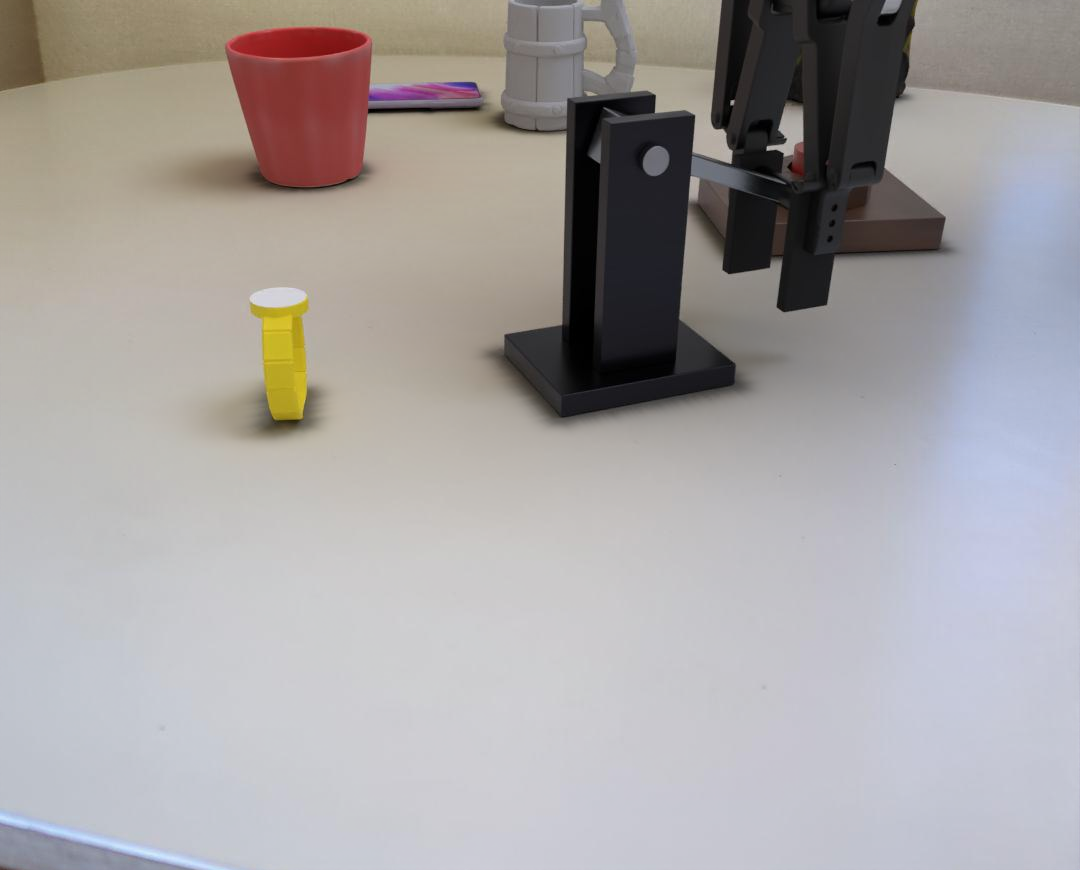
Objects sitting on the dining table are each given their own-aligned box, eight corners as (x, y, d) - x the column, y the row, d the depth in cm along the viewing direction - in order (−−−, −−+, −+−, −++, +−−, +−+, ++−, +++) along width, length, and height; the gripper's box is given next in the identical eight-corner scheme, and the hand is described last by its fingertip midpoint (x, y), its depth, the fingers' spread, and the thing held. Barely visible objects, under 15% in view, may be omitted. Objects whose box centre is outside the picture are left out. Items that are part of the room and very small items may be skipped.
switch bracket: (664, 326, 70) (682, 78, 62) (734, 384, 64) (764, 117, 56) (503, 353, 67) (501, 95, 59) (561, 417, 61) (568, 138, 53)
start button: (838, 164, 85) (842, 139, 84) (858, 181, 81) (862, 155, 80) (783, 166, 84) (786, 140, 83) (801, 183, 81) (805, 157, 80)
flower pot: (214, 186, 90) (194, 49, 85) (282, 147, 99) (268, 20, 94) (343, 201, 88) (332, 61, 82) (401, 160, 96) (395, 30, 91)
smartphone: (317, 84, 113) (476, 81, 115) (318, 94, 113) (477, 90, 115) (315, 102, 107) (483, 98, 109) (316, 112, 107) (484, 108, 109)
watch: (315, 436, 59) (302, 322, 55) (257, 437, 58) (241, 323, 55) (322, 380, 64) (311, 273, 60) (269, 382, 63) (255, 274, 60)
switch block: (880, 196, 90) (889, 142, 88) (940, 249, 81) (952, 190, 79) (697, 203, 88) (701, 147, 86) (737, 257, 79) (743, 197, 77)
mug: (508, 107, 110) (508, -37, 104) (637, 113, 109) (645, -32, 102) (493, 129, 104) (491, -23, 97) (629, 137, 103) (637, -17, 96)
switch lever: (761, 202, 66) (778, 160, 65) (812, 232, 62) (831, 187, 61) (574, 147, 60) (590, 99, 59) (617, 176, 56) (636, 125, 55)
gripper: (665, -217, 59) (638, 241, 72) (888, -199, 45) (806, 364, 58) (795, -218, 62) (747, 226, 75) (1045, -200, 48) (932, 340, 61)
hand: (773, 286), depth 66 cm, fingers closed on switch lever, 5 cm apart
